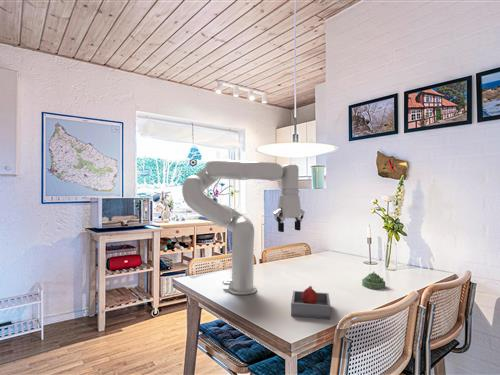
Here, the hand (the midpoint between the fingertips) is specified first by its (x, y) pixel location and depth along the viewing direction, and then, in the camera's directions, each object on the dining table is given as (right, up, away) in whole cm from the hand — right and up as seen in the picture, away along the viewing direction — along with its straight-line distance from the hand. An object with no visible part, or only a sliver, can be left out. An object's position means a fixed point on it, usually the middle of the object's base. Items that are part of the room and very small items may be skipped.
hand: (289, 230), depth 139 cm
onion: (+5, -26, -23) cm, 34 cm away
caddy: (+5, -26, -22) cm, 35 cm away
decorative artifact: (+40, -27, +7) cm, 49 cm away
